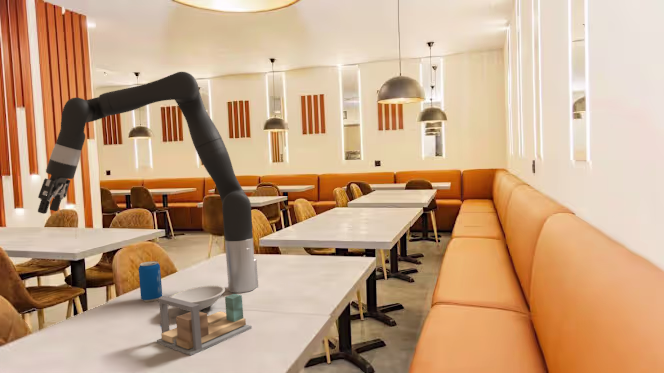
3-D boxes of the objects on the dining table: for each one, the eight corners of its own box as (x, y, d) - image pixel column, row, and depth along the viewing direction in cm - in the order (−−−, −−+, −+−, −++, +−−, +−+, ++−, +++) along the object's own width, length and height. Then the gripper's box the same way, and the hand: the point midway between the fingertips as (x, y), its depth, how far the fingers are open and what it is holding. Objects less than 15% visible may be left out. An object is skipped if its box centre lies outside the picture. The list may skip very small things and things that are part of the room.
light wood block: (220, 316, 118) (220, 311, 118) (231, 319, 116) (231, 314, 115) (198, 325, 113) (198, 319, 113) (209, 328, 110) (209, 322, 110)
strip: (234, 321, 114) (232, 293, 114) (245, 324, 111) (243, 295, 111) (176, 345, 101) (174, 313, 100) (188, 349, 98) (185, 316, 97)
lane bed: (217, 318, 119) (214, 281, 119) (251, 328, 111) (248, 287, 110) (156, 342, 105) (153, 299, 104) (190, 355, 97) (187, 308, 96)
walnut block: (195, 330, 105) (194, 310, 105) (208, 334, 102) (207, 313, 102) (177, 337, 101) (176, 316, 101) (190, 342, 98) (188, 320, 98)
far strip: (192, 327, 111) (191, 322, 111) (203, 331, 108) (202, 325, 108) (161, 339, 104) (161, 333, 104) (172, 343, 102) (172, 337, 102)
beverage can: (154, 302, 138) (151, 265, 137) (136, 302, 139) (133, 265, 138) (166, 296, 144) (163, 260, 143) (149, 296, 145) (146, 261, 145)
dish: (197, 323, 117) (195, 305, 116) (157, 318, 123) (156, 301, 122) (237, 302, 133) (236, 286, 132) (200, 299, 139) (199, 283, 138)
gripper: (68, 164, 127) (51, 217, 127) (84, 165, 141) (69, 212, 140) (40, 156, 125) (23, 210, 125) (60, 158, 139) (44, 206, 139)
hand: (47, 211), depth 133 cm, fingers open, 8 cm apart
